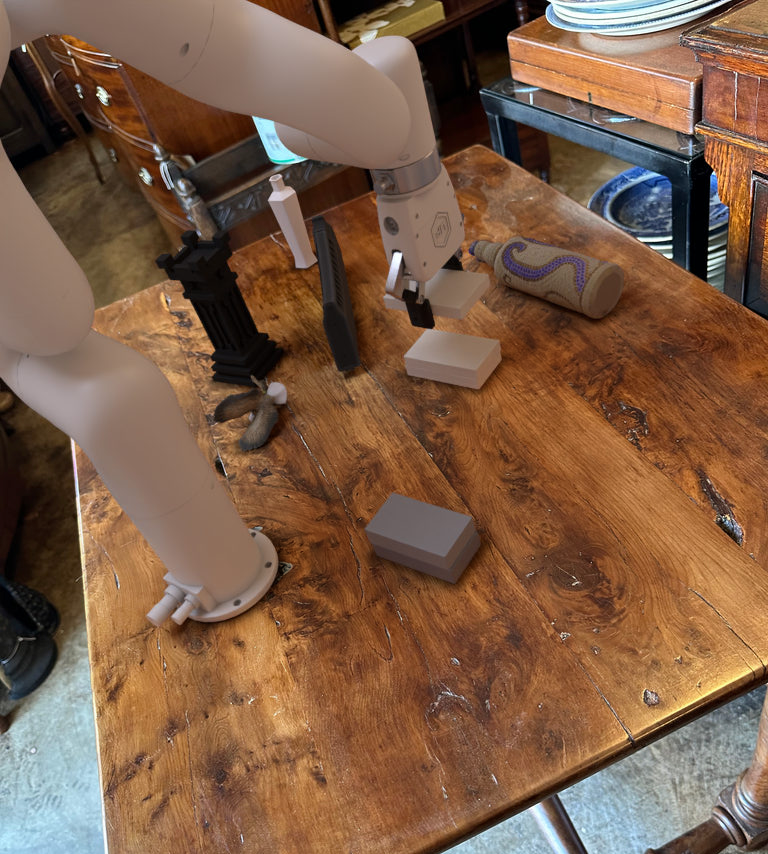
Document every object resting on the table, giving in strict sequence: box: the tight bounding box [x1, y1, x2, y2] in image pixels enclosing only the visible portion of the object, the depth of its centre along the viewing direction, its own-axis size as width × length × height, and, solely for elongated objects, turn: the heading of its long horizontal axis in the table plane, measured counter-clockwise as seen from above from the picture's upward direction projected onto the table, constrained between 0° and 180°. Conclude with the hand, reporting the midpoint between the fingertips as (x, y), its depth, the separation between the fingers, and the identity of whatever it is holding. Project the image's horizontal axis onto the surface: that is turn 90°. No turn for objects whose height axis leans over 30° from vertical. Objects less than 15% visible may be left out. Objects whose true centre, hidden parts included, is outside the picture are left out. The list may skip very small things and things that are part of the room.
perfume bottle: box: [267, 173, 318, 269], centre depth 128 cm, size 5×4×15 cm
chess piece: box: [154, 229, 285, 388], centre depth 110 cm, size 8×8×20 cm
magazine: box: [311, 214, 362, 373], centre depth 115 cm, size 17×3×30 cm
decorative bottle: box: [467, 235, 625, 320], centre depth 109 cm, size 26×8×7 cm, turn 39°
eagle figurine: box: [212, 375, 288, 452], centre depth 104 cm, size 8×7×9 cm
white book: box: [382, 269, 491, 321], centre depth 96 cm, size 7×11×2 cm, turn 56°
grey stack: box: [363, 492, 482, 585], centre depth 83 cm, size 6×10×4 cm, turn 56°
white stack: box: [403, 328, 502, 390], centre depth 103 cm, size 6×11×3 cm, turn 56°
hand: (439, 306), depth 97 cm, fingers closed on white book, 7 cm apart
